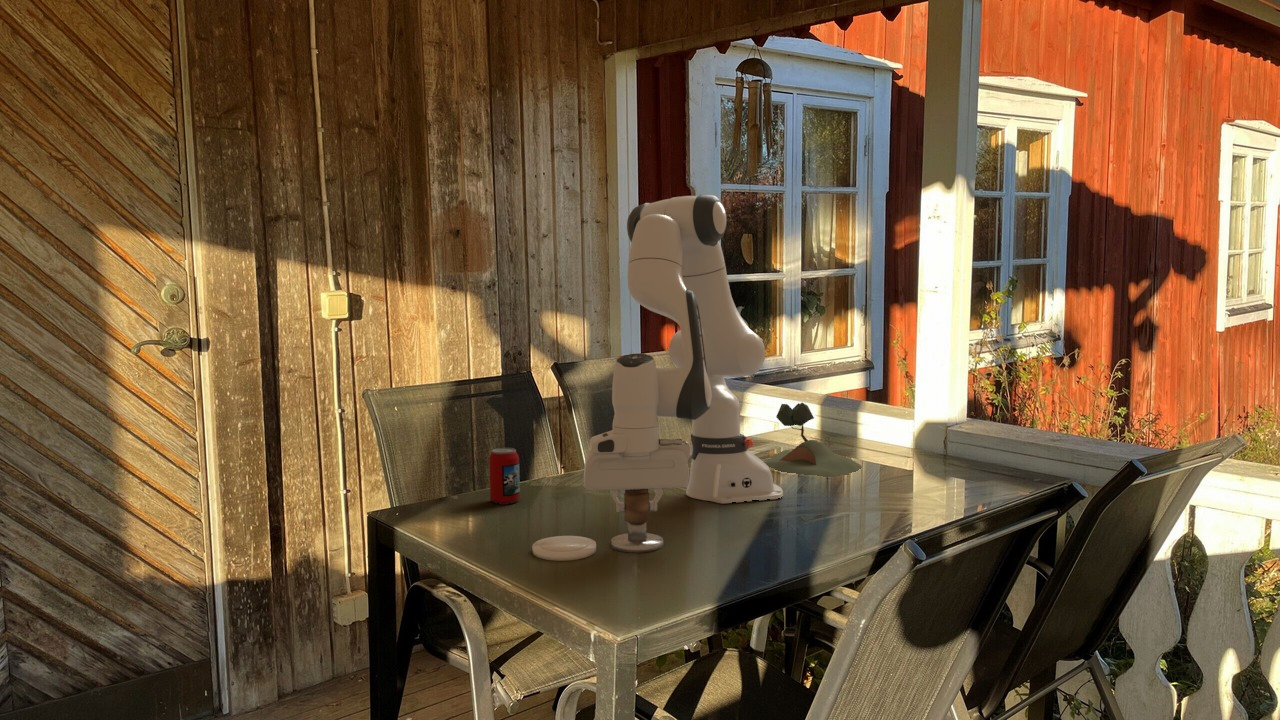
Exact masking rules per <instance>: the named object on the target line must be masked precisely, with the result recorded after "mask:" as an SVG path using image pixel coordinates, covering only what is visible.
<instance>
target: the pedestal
mask: <svg viewBox="0 0 1280 720" xmlns="http://www.w3.org/2000/svg"><path fill="white" fill-rule="evenodd" d="M647 531H648V530H647V522H643V523H630V522H627V533H621V534H618V535H615V536H614V537H612V538H611V539H610V543H611V544H610V545H611V548H612V549H614V550H615V551H619V552H622V553H623V552H624V553H632V554H633V553H634V554H639V553H640V554H641V553H650V552H654V551H659V550H660V549H662V548H663V547H664V538H663V537H662V536H661V535H659V534H655V533H654V534H653V533H649V532H647Z"/></svg>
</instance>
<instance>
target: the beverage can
mask: <svg viewBox="0 0 1280 720" xmlns="http://www.w3.org/2000/svg"><path fill="white" fill-rule="evenodd" d="M488 461H489V463H488V464H489V467H488V468H489V469H488V470H489V496H490V497H489V499H490V500H491V501H492V502H494V503H495V504H497V503H499V504H498V505H509V503H511V504H513V503H516V502H517V501H518V500H519V499H520V498H521V497H520V496H521V495H520V494H521V488H520V487H521V486H520V485H521V484H520V483H521V482H520V479H521V478H520V457H519V454H518V452H517V449H515V448H514V447H500V448H499V447H498V448H493V449H492V451H491V454H490V455H489V458H488Z"/></svg>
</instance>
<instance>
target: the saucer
mask: <svg viewBox="0 0 1280 720" xmlns="http://www.w3.org/2000/svg"><path fill="white" fill-rule="evenodd" d="M596 552H597V542H596V541H595V540H594V539H592V538H589V537H584V536H580V535H557V536H550V537H545V538H541V539H538V540H536V541H534V542H533V544H532V554H533V556H534V557H536V558H538V559H541V560H542V559H543V560H547V561H558V562H560V561H561V562H562V561H563V562H565V561H575V560H581V559H584V558H589V557H591V556H593V555H594V554H596Z"/></svg>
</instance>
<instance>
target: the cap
mask: <svg viewBox="0 0 1280 720" xmlns="http://www.w3.org/2000/svg"><path fill="white" fill-rule="evenodd" d="M623 494H624V495H623V499H624V505H625V507H624V509H625V512H623V514H624V518H623V519H624V521H625V522H627V523H628V522H630V523H643V522H646V523H647V522H649V521H650V511H649V501H650V493H649V489H624V493H623Z"/></svg>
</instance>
